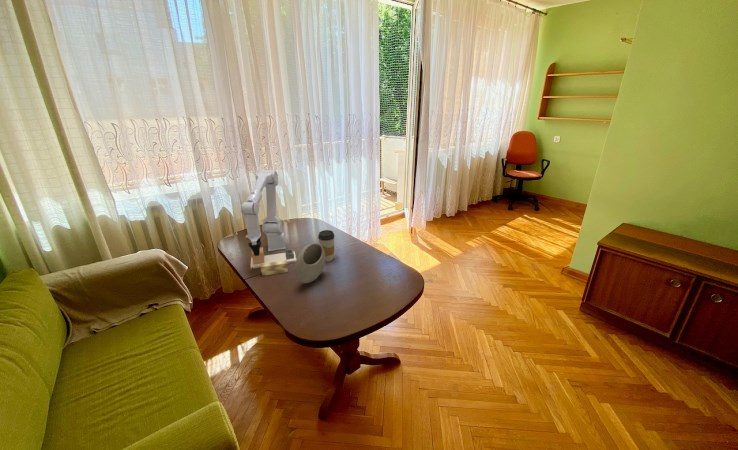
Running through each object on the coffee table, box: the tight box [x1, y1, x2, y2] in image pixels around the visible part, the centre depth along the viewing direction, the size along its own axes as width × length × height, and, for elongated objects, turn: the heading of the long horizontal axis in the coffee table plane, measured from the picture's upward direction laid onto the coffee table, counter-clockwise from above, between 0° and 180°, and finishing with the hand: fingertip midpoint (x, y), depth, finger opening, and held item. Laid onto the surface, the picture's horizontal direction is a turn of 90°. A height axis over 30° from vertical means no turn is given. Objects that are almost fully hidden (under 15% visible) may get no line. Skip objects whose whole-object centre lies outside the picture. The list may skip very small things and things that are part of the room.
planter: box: [294, 242, 326, 284], centre depth 134 cm, size 18×7×19 cm, turn 148°
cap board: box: [250, 248, 297, 269], centre depth 154 cm, size 22×10×4 cm, turn 108°
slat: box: [260, 260, 289, 277], centre depth 144 cm, size 12×3×5 cm, turn 108°
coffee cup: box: [317, 229, 335, 263], centre depth 154 cm, size 8×8×15 cm
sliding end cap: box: [251, 247, 265, 264], centre depth 151 cm, size 5×6×6 cm
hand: (257, 251), depth 145 cm, fingers open, 7 cm apart
